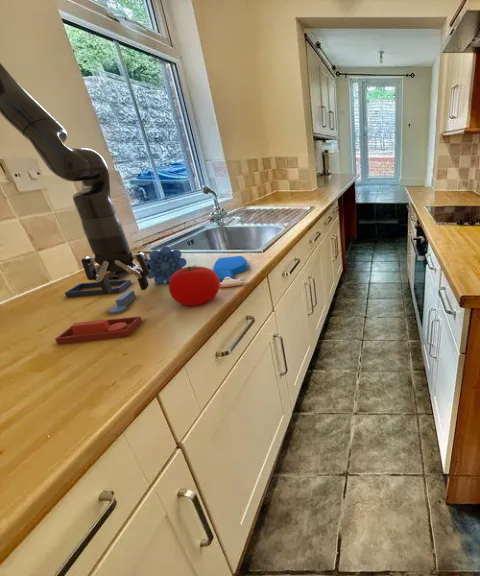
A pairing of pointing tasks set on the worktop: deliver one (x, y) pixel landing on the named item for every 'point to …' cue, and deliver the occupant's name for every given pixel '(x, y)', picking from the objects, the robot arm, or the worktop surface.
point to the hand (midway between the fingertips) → (127, 291)
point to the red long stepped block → (96, 327)
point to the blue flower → (164, 264)
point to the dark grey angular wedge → (114, 273)
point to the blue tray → (75, 290)
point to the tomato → (194, 285)
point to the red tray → (67, 337)
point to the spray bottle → (230, 270)
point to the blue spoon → (123, 302)
